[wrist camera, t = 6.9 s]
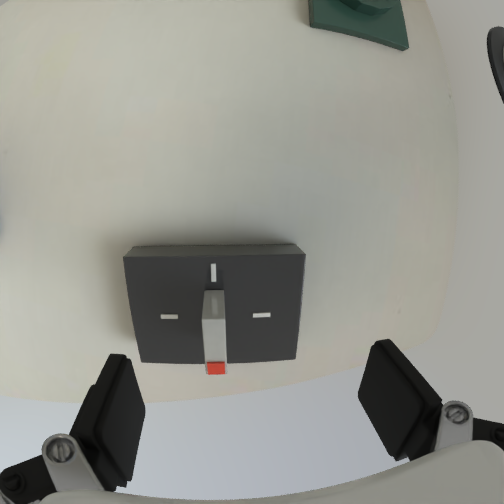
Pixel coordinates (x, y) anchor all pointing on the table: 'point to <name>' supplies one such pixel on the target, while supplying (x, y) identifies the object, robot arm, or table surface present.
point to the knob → (214, 332)
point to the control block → (362, 20)
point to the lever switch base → (235, 296)
